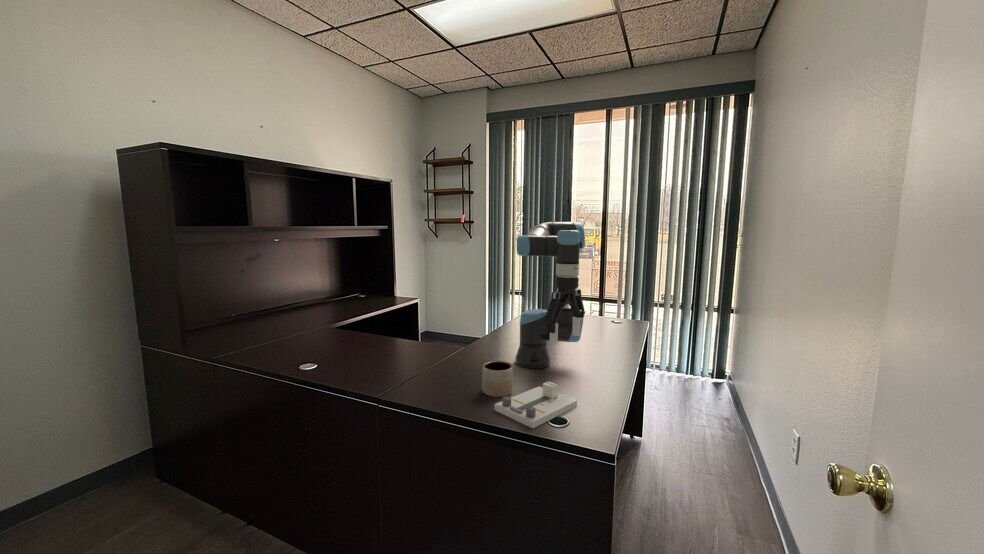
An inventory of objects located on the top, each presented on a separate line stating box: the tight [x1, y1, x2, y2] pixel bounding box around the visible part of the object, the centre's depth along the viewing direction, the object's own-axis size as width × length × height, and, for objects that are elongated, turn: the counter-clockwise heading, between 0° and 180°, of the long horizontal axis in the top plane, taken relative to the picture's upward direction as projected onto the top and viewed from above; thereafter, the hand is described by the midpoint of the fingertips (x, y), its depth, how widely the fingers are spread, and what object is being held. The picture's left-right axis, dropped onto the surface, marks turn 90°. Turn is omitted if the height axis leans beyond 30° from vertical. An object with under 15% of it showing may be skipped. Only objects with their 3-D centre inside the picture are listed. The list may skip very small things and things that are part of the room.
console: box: [494, 386, 578, 429], centre depth 126 cm, size 16×22×4 cm
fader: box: [542, 381, 559, 399], centre depth 131 cm, size 4×3×4 cm
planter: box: [481, 360, 514, 398], centre depth 139 cm, size 11×11×10 cm
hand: (565, 338), depth 134 cm, fingers open, 12 cm apart
